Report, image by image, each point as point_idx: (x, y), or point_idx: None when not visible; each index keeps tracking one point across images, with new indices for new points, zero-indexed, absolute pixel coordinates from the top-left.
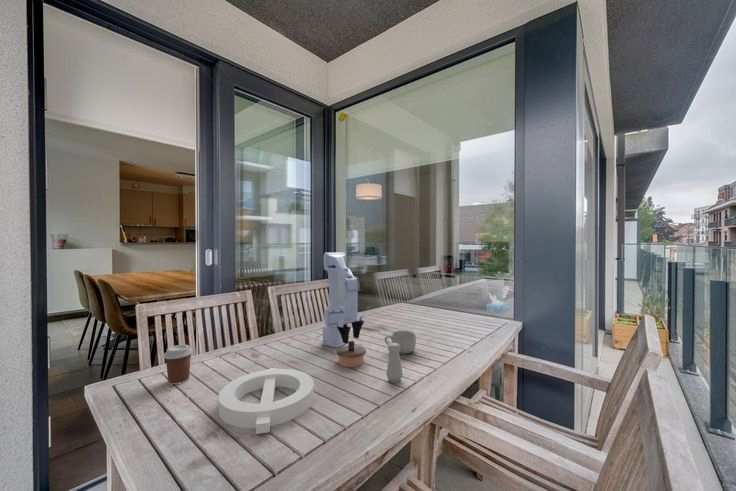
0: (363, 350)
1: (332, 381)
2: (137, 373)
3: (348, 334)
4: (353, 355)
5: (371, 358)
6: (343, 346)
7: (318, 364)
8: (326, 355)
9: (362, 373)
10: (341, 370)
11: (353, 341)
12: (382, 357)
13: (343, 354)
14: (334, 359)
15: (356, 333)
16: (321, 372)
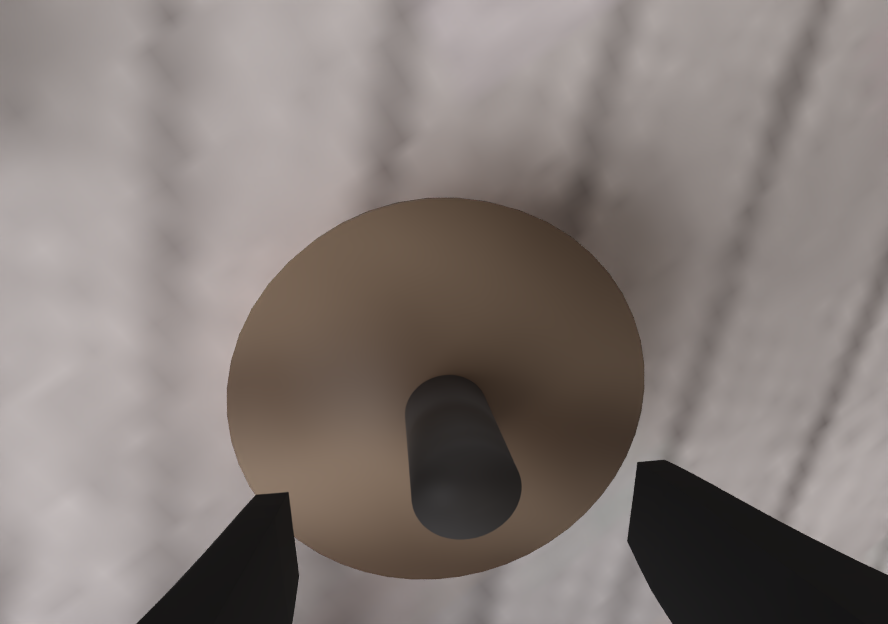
0: (352, 265)
1: (868, 227)
2: None
3: (844, 588)
4: (601, 270)
5: (207, 225)
6: (381, 573)
7: (619, 538)
8: (424, 619)
9: (625, 74)
10: (647, 305)
11: (429, 474)
12: (76, 115)
13: (624, 400)
14: None
15: (262, 613)
16: (744, 416)
